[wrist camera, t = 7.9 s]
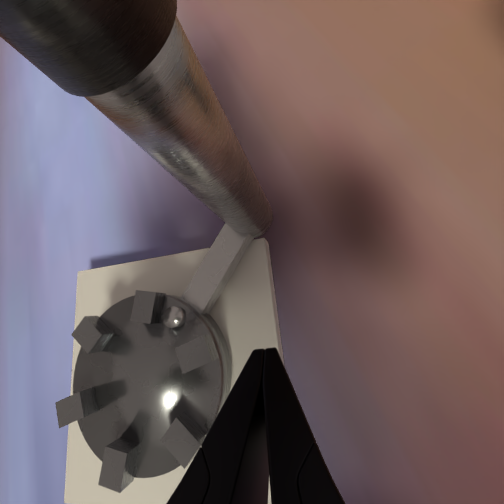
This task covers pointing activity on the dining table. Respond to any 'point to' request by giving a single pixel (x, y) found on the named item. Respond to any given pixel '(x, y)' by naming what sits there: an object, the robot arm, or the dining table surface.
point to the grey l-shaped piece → (189, 175)
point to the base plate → (223, 312)
